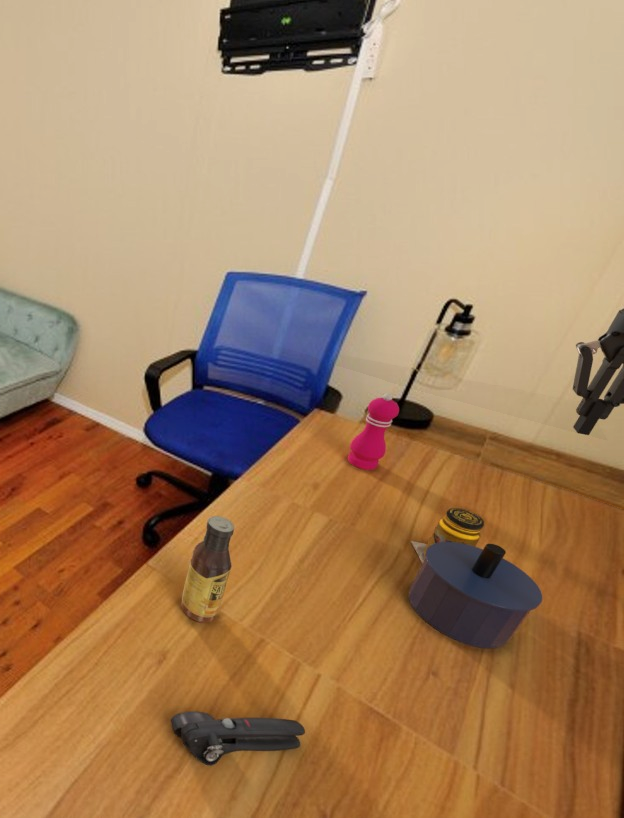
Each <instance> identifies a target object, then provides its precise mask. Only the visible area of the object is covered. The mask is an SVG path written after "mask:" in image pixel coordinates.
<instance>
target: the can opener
mask: <svg viewBox="0 0 624 818" xmlns="http://www.w3.org/2000/svg"><path fill="white" fill-rule="evenodd" d="M170 724H171V729H172V730H173V734H174V735H175V736H176V737H178V738H180V739H181V741H182V744H183V745H184V747H185V749H187V751H189V752H190V754H191V755H192V756H193V757H194V758H195V759H197V760H198V761H199V762H200V763H202V764H203V765H206V766H214V765H216V764H217V763H218V762H219V761H220V760H221V759H222V757H223V756H224V755H227V754H230V753H235V752H249V751H250V752H278V751H279V752H280V751H289V750H294V749H298V748H300V747H301V741H300V738H299V737H300V736H303V735H305V734H306V729H305V726H303V724H301V723H300V722H299V721H297V720H294V719H286V718H276V717H230V718H229V717H227V718H219V719H216V718H214V716H213V715H211V714H210V713H207V712H203V711H184V712H180V713H179V712H178V713H176V714H173V716H171V717H170ZM298 736H299V737H298Z"/></svg>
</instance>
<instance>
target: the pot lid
mask: <svg viewBox="0 0 624 818" xmlns="http://www.w3.org/2000/svg"><path fill="white" fill-rule="evenodd" d="M506 554H507V552H506V550H505V548H503V547H502V546H500V545H498V544H495V543H486V544H485V546H484V548H480V547H477V546H475V547H474V546H471V545H467V544H462V543H456V542H439V543H435V544H432V545H430V546H429V547H428V548H427V550H426V552H425V559H426V562H427V564H428V566H429V567H430V569H431V570H432V571H433V572H434V574H435V575H436V576H437V577H439V578H440V579H441V580H442V581H443V582H444V583H446V584H447V585H449V586H450V587H451V588H453V589H455V590H456V591H458V592H459V593H461V594H463V595H465V596H467V597H469V598H471V599H473V600H475V601H478V602H480V603H483V604H486V605H488V606H491V607H495V608H498V609H503V610H508V611H518V612H522V611H530V610H531V611H533V610H536V609H537V608H538V607H539V606H540V605H541V603H542V602H543V593H542V590H541V589H540V587H539V585H538V584H537V583H536V581H535V580H533V578H532V577H531V576H529V575H528V574H527V573H526V572H525V571H524V570H522V569H521V568H520V567H518V566H517V565H516V564H514V563H512V562H511V561H508V560H507V559H505V558H504V557H505V555H506ZM531 611H530V612H531Z"/></svg>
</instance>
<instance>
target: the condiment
mask: <svg viewBox="0 0 624 818" xmlns="http://www.w3.org/2000/svg"><path fill="white" fill-rule="evenodd" d="M484 526H485V521H484V520H483V517H481V516H480V515H479V514H477V513H475V512H473V511H470V510H468V509H466V508H465V509H464V508H461V507H452V508H449V509H448V510H446V512H445V515H444V516H443V518H441V519H440V520H438V521H437V524H436V526H435V527H434V530H433V532H432V533H431V536H430V537H429V539H428V542H427V543H424V542H417V541H413V540H410V543H411V544H412V546H413V548H414V550H415V552H416V554H417V556H418V558H419V560H420V562H421V565H422V564H423V562H424V560H425V552H426V550H427V548H428V547H429V546H430V545H432V544H435V543H439V542H456V543H462V544H467V545H471V546H474V547H477V544H478V542H479V541H480V539H481V532H482V530H483V528H484Z"/></svg>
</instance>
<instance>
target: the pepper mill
mask: <svg viewBox="0 0 624 818" xmlns="http://www.w3.org/2000/svg"><path fill="white" fill-rule="evenodd" d="M367 411H368V413H367V414H366V418H365V421H366V425H365V426H364V428H363V430H362V431H361V432H360V433H359V434H357V435H356V436H355V437H354V438H353V439H352V441H351V442H350V444H349V449H350V452H349V453H348V456H347V461H348V462H349V464H351V465H352V466H354V467H356V468H357V469H361V470H367V471H373V470H375V469H377V467H378V465H379V463H380V459H383V458H384V456H385V455H386V451H387V445H386V440H385V433H386V430H387V428H389V427H391V426H392V423H393V419H395V418H396V417H398V415H399V413H400V407H399V404H398V403H397V402H396V401H395V400H393V395H392V394H391V393H385V394H384V395H383V397H376V398H374V399H372V400H371V401H370V402H369V403H368V405H367Z"/></svg>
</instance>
